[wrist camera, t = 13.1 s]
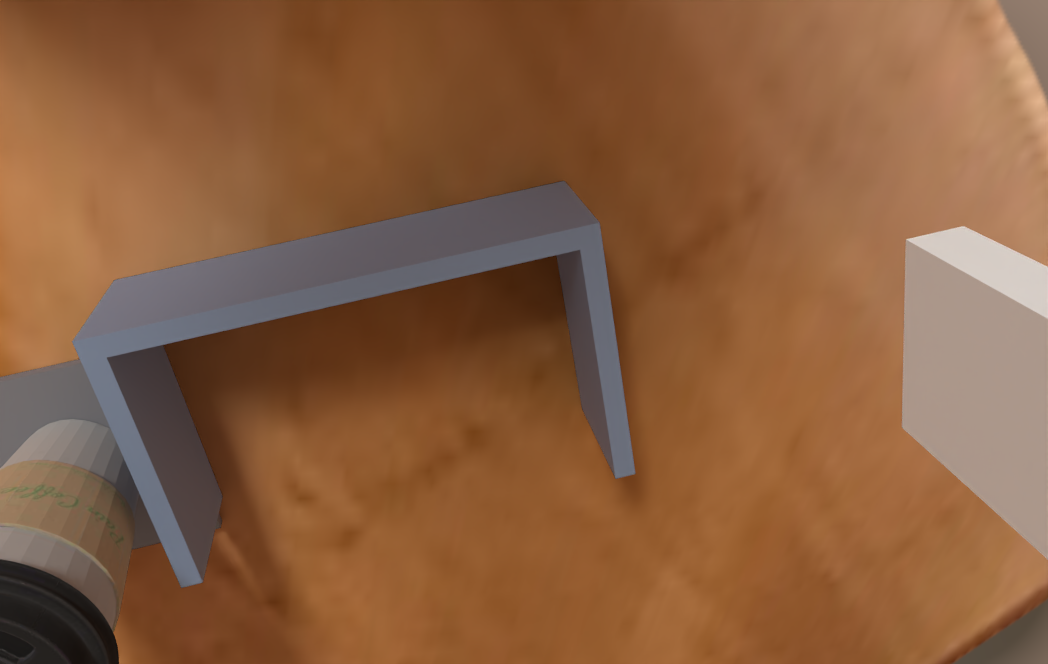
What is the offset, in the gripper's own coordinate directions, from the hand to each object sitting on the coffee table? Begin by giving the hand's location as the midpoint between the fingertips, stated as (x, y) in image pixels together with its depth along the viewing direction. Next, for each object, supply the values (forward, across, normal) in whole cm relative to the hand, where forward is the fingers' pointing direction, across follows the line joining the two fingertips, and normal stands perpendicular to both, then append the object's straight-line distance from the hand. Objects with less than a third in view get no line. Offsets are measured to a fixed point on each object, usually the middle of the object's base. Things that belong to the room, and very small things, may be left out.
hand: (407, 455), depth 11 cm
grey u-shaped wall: (+33, -3, -14) cm, 36 cm away
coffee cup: (+32, -19, -16) cm, 41 cm away
